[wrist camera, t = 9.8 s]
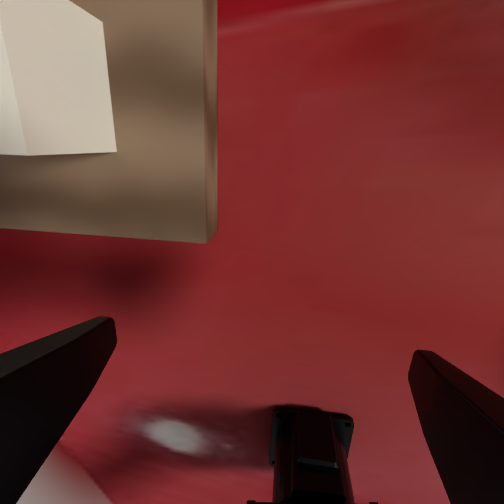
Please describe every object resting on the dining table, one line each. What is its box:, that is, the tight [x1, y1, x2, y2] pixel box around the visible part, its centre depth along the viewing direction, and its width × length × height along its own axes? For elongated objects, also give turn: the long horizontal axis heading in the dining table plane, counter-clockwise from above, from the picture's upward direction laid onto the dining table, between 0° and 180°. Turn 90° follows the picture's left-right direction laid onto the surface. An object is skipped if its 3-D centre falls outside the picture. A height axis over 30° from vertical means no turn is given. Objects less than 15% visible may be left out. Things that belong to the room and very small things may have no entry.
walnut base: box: [0, 0, 218, 244], centre depth 17 cm, size 16×16×3 cm
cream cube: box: [0, 0, 117, 156], centre depth 13 cm, size 6×6×6 cm
